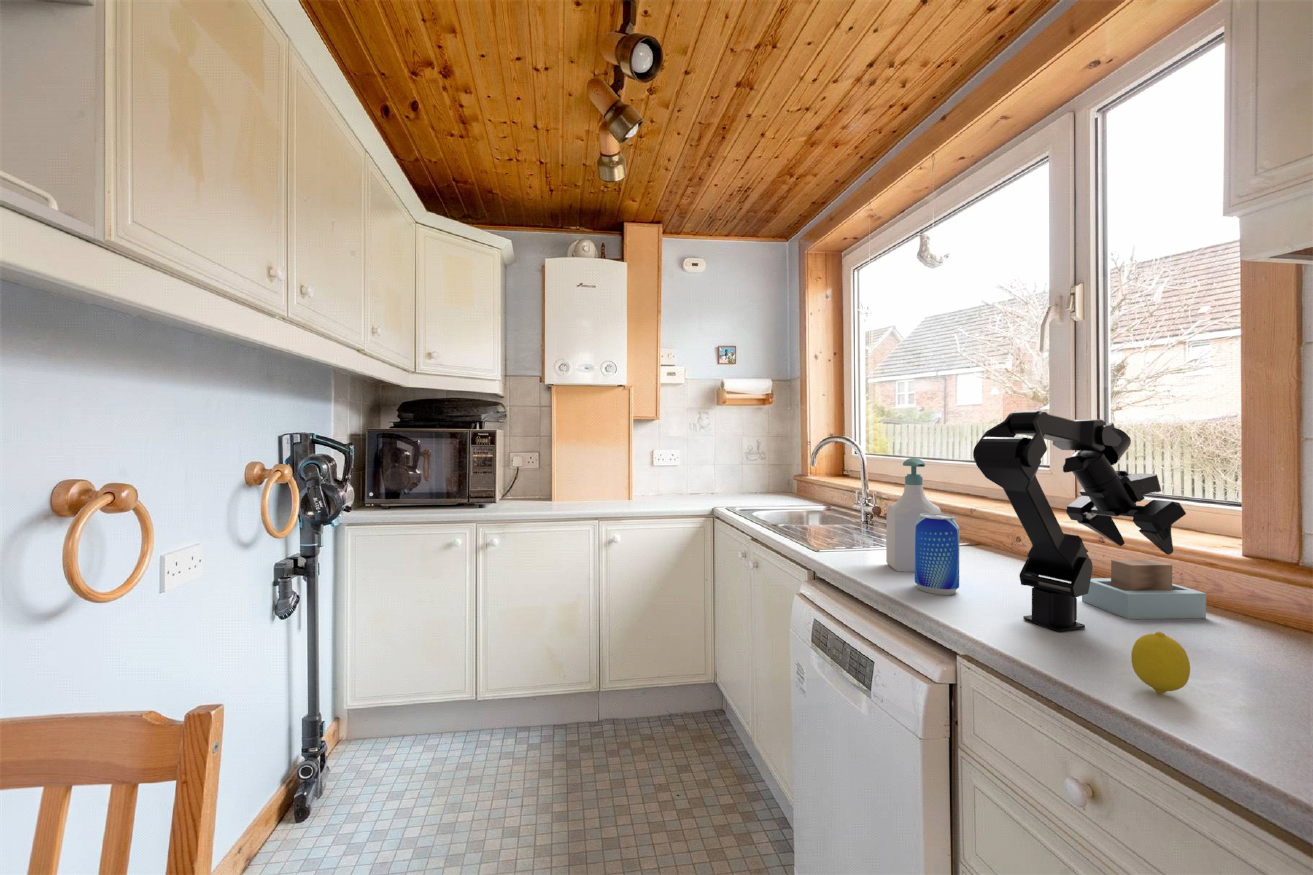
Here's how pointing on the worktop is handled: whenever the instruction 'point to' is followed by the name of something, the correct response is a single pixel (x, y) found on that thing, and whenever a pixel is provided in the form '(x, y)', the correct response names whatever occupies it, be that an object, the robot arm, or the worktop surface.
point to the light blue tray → (1146, 601)
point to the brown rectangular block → (1141, 575)
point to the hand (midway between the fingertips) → (1145, 548)
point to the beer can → (937, 553)
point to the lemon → (1160, 662)
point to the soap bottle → (906, 520)
